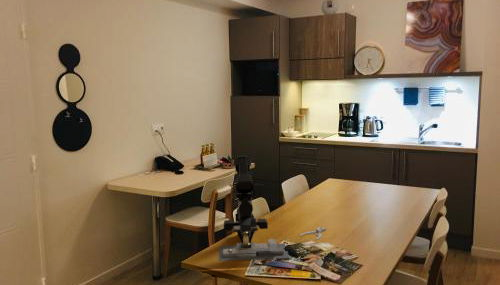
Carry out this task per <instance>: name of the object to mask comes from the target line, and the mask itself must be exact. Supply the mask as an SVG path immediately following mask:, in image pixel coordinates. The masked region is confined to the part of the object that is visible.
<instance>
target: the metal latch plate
mask: <svg viewBox="0 0 500 285" xmlns="http://www.w3.org/2000/svg"><path fill="white" fill-rule="evenodd" d="M277 244H278V243H277V241H276V238H268V241H267V242H265V243H264V242H263V243H261V242H260V243H256V242H253V241H251V243H250V248H243V244H242V243H241V242H236V246H237V254H244V253H256V252H257V251H277Z"/></svg>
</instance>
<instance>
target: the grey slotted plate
mask: <svg viewBox="0 0 500 285" xmlns="http://www.w3.org/2000/svg"><path fill="white" fill-rule="evenodd" d="M263 255H284V251H283V248H282V247H277V251H258V256H263ZM223 257H237V258H250V257H256V253H244V254H237V249H223Z"/></svg>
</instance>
